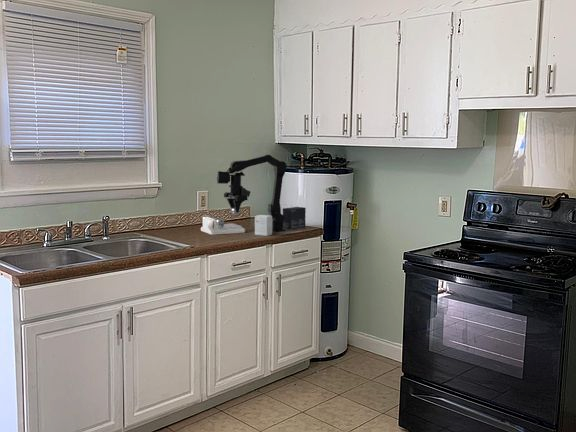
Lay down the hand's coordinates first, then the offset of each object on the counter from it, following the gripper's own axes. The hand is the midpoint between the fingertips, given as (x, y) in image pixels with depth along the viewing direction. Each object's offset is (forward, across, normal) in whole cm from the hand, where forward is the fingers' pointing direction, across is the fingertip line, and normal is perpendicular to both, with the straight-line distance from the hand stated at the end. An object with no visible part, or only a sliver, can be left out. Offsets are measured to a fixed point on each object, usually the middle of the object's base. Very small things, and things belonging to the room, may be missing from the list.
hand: (235, 211), depth 336 cm
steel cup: (+1, 0, 0) cm, 1 cm away
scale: (+11, +3, +7) cm, 13 cm away
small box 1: (+11, -15, -10) cm, 21 cm away
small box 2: (+11, -1, -38) cm, 40 cm away
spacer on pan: (+8, +6, +7) cm, 12 cm away
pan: (+9, +3, +3) cm, 10 cm away
